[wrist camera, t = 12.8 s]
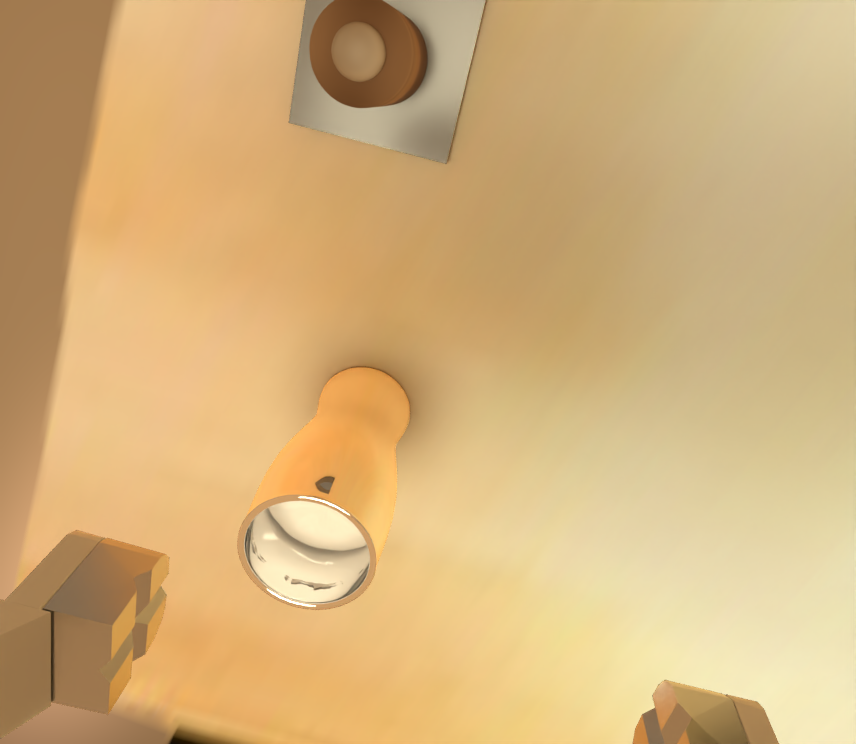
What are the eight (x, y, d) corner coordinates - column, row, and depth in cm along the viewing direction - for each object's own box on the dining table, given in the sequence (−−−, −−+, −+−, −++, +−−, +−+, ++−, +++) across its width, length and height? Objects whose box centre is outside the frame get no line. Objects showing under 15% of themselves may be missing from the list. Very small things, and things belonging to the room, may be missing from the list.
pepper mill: (438, 24, 34) (419, 8, 28) (413, 117, 36) (390, 122, 29) (352, -3, 34) (312, -27, 28) (332, 90, 36) (290, 90, 29)
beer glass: (334, 342, 43) (257, 468, 29) (433, 386, 43) (404, 528, 30) (299, 429, 46) (215, 580, 32) (393, 468, 46) (349, 633, 33)
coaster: (490, -17, 34) (489, -19, 34) (447, 162, 38) (446, 163, 37) (317, -62, 34) (315, -65, 33) (291, 122, 38) (288, 122, 37)
